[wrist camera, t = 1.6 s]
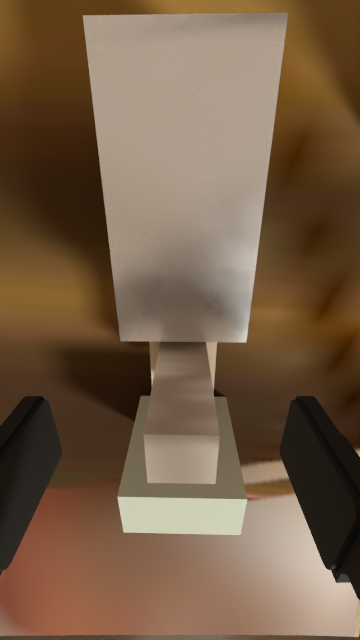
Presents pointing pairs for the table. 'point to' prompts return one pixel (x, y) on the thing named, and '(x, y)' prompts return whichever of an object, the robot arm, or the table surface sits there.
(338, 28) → the table surface
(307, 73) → the table surface
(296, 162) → the table surface
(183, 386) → the inner bar
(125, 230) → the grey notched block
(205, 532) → the socket block
